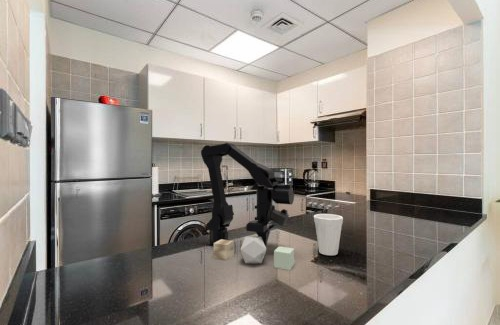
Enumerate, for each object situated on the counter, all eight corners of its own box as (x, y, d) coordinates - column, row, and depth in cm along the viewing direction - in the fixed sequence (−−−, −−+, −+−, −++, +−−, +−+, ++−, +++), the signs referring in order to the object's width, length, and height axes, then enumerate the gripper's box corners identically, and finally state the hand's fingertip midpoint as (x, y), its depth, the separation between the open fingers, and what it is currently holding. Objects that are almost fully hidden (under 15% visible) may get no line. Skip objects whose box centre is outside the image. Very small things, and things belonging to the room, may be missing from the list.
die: (257, 271, 73) (273, 242, 76) (233, 255, 74) (249, 227, 77) (256, 270, 80) (271, 244, 83) (234, 256, 82) (249, 230, 85)
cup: (344, 251, 89) (344, 215, 89) (342, 260, 80) (341, 220, 80) (316, 247, 93) (316, 212, 93) (311, 255, 84) (311, 217, 84)
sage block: (273, 267, 74) (273, 251, 74) (279, 261, 79) (278, 246, 79) (290, 270, 72) (289, 253, 72) (294, 264, 77) (294, 248, 77)
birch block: (213, 258, 82) (213, 243, 82) (221, 253, 86) (221, 239, 87) (226, 260, 80) (226, 245, 80) (233, 255, 84) (233, 240, 85)
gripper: (277, 207, 76) (277, 258, 76) (293, 200, 93) (293, 241, 93) (245, 205, 81) (245, 253, 81) (265, 199, 98) (265, 238, 98)
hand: (264, 246), depth 88 cm, fingers closed
